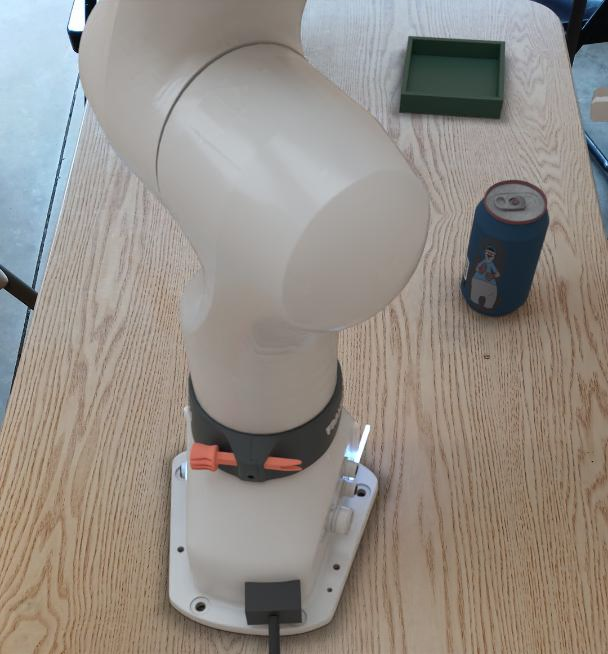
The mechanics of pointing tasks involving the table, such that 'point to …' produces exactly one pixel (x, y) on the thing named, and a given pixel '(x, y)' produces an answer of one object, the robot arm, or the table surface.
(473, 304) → the soda can
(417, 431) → the table surface
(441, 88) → the serving tray
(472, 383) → the table surface
